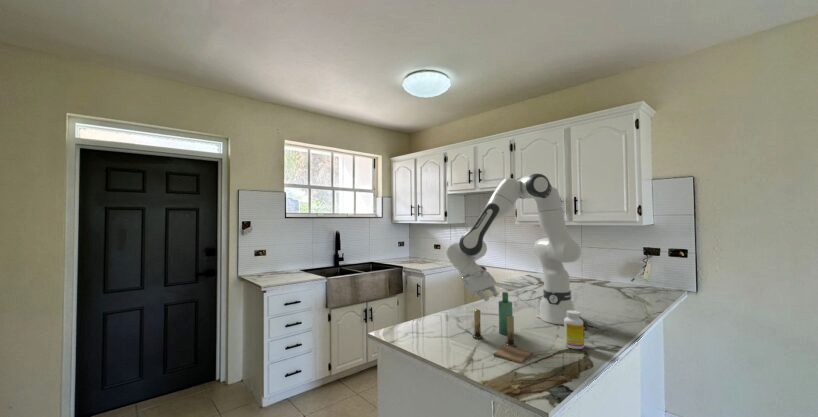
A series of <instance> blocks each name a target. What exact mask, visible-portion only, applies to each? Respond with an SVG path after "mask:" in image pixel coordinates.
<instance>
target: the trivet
mask: <svg viewBox="0 0 818 417" xmlns="http://www.w3.org/2000/svg"><path fill="white" fill-rule="evenodd" d="M532 354H533V351H531V350H527V349H523V348H520V347H519V348H518V347H511V346H507V345H503V346H502V347H500V348H498V349H497V351H495V352H493V357H497V358H499V359H500V358H501V359H504V360H507V361H513V362H515V363H518V364H523V363H524V362H526V360H527V359H528V358H529V357H531V355H532Z"/></svg>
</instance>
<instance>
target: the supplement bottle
mask: <svg viewBox="0 0 818 417" xmlns="http://www.w3.org/2000/svg"><path fill="white" fill-rule="evenodd" d="M563 329H564V330H563V332H564V334H563V337H564V338H563V339H564V340H563V341H564V346H566V347H567V348H570V349H573V350H582V349H583V348H584V347H585V336H584V335H585V332H584V331H585V329H584V321H583V319H582V318H581V312H580V311H577V310H575V311H572V310H569V311H567V317H566V318H565V319H564V325H563Z"/></svg>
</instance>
